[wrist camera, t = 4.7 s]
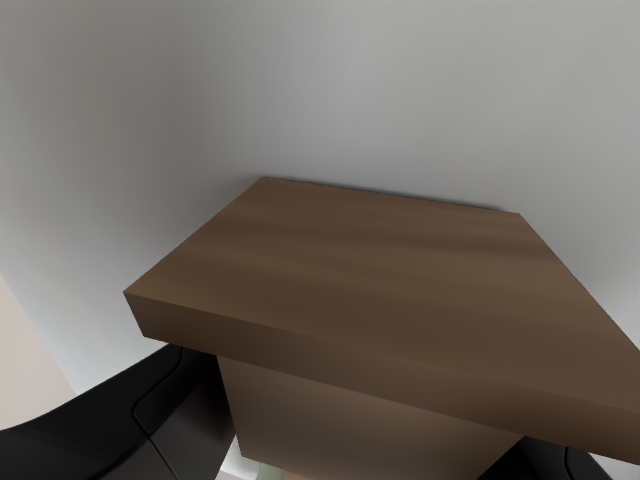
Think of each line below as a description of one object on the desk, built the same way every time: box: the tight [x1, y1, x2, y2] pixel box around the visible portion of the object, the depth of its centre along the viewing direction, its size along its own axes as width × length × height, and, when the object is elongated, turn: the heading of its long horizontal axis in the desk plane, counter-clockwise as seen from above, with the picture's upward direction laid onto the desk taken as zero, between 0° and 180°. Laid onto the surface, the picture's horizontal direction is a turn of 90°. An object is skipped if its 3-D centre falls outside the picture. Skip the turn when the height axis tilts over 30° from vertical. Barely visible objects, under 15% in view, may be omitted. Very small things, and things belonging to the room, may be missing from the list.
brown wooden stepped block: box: [123, 177, 640, 480], centre depth 10 cm, size 18×7×5 cm, turn 176°
